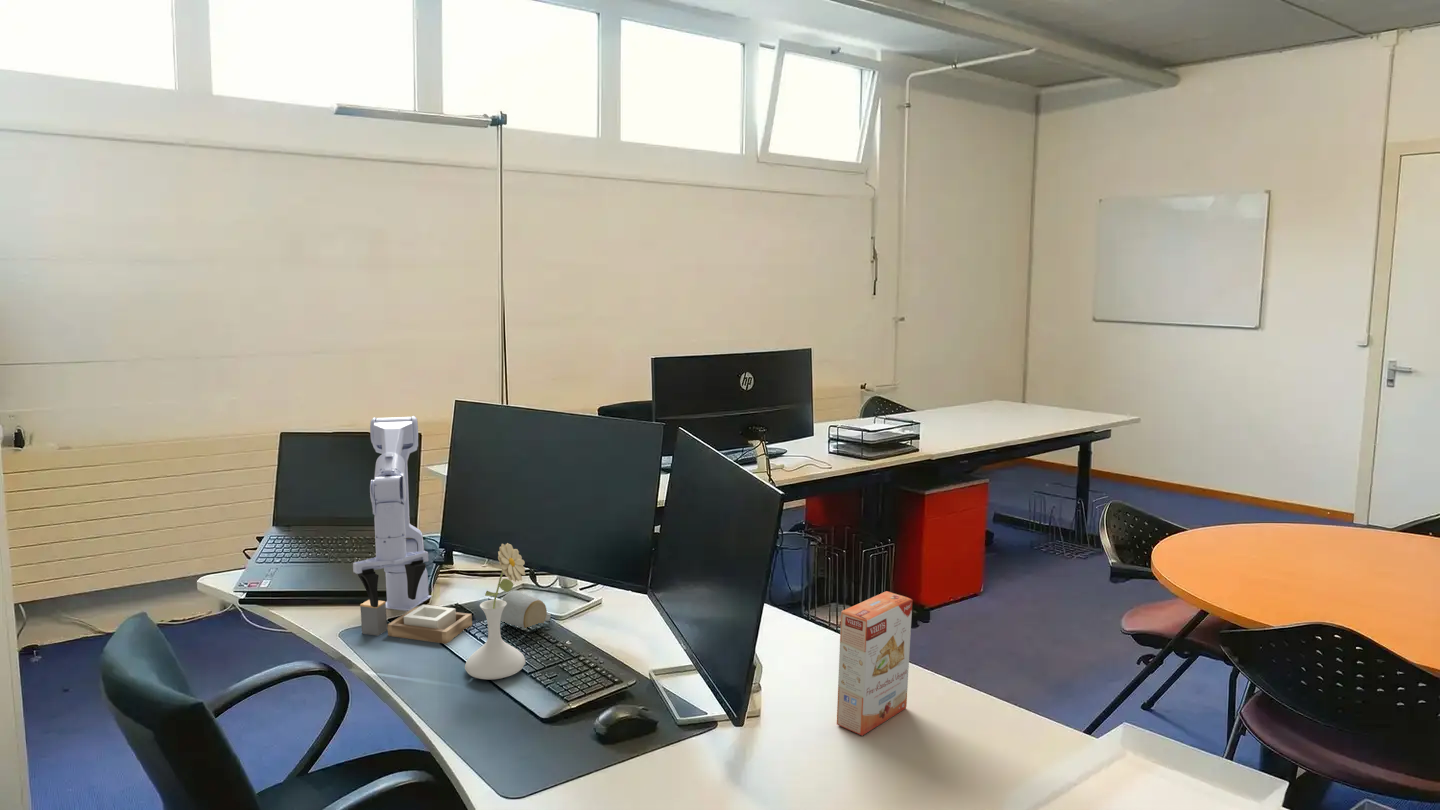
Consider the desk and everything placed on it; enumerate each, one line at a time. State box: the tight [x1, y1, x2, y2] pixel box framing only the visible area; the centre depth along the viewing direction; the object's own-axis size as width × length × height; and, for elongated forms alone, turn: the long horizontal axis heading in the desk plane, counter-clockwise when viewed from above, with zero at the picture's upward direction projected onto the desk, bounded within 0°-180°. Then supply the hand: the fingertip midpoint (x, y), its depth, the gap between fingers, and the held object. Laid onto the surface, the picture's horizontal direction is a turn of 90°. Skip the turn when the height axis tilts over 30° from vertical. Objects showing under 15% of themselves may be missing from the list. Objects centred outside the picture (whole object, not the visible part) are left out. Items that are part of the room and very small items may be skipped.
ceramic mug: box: [500, 589, 552, 628], centre depth 195 cm, size 11×8×8 cm
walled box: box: [387, 606, 473, 645], centre depth 191 cm, size 10×14×3 cm
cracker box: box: [836, 590, 914, 736], centre depth 155 cm, size 14×6×21 cm, turn 136°
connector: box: [359, 599, 388, 637], centre depth 190 cm, size 3×4×7 cm
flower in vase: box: [464, 542, 526, 680], centre depth 172 cm, size 13×11×25 cm
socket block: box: [404, 604, 457, 630], centre depth 191 cm, size 7×8×4 cm
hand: (393, 602), depth 180 cm, fingers open, 7 cm apart
